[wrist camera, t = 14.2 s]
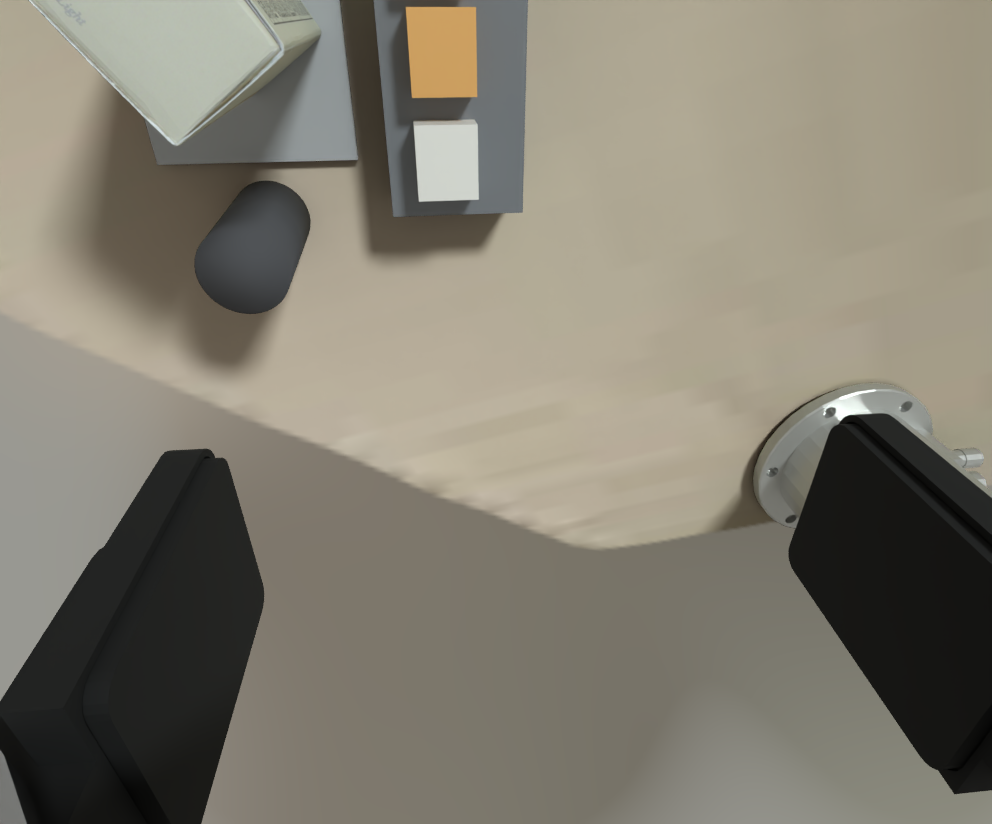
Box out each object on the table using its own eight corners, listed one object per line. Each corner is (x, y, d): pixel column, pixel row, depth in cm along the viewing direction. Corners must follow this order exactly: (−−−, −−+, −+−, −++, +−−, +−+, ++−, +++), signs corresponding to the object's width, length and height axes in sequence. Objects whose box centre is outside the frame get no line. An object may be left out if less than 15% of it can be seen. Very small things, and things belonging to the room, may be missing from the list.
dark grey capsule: (294, 173, 29) (268, 218, 23) (320, 245, 31) (303, 302, 25) (220, 190, 29) (177, 240, 23) (252, 261, 31) (219, 322, 25)
